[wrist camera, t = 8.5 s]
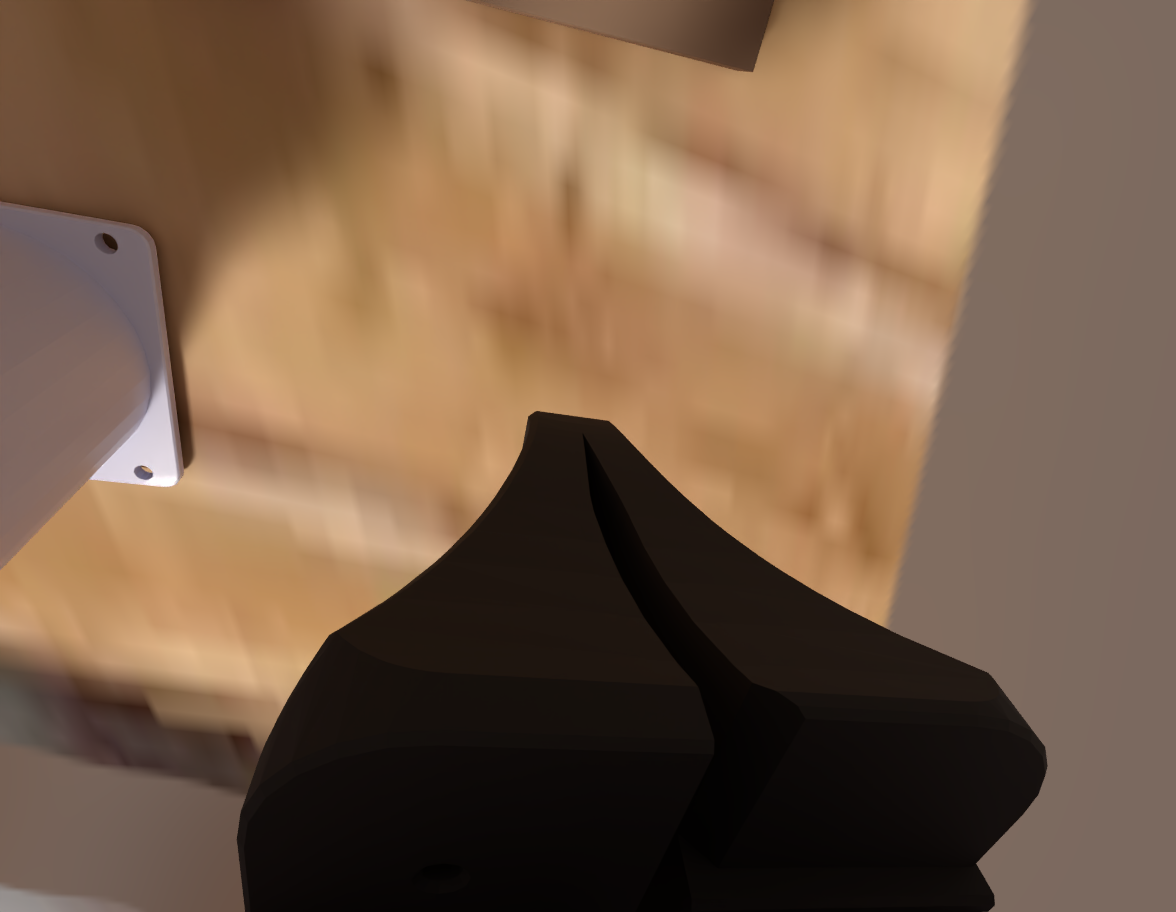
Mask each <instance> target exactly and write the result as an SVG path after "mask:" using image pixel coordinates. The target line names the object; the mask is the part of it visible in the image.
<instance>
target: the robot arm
mask: <svg viewBox="0 0 1176 912" xmlns="http://www.w3.org/2000/svg"><path fill="white" fill-rule="evenodd" d="M103 233H106V234H109V235H111V236H112V237H113V238H114V239H115V240H116V242H117V244H118V249H117V250H114V249H111V248H109V247H108V246H107V245H106V244H105V242H104V240H103ZM141 466H146V467H148V468H149V469H151V470H152V472H153V473H149V472H146V471H145V470H143V469H142V468H141ZM183 474H184V466H183V458H182V450H181V442H180V434H179V426H178V418H177V410H176V402H175V394H174V386H173V378H172V370H171V362H170V354H169V346H168V338H167V330H166V322H165V314H164V306H163V298H162V290H161V282H160V274H159V266H158V258H157V250H156V246H155V243H154V240H153V238H152V237H151V236H150V234H149V233H148V232H147V231H145V230H144V229H142V228H141V227H139V226H136V225H133V224H128V223H122V222H116V221H111V220H105V219H99V218H93V217H88V216H82V215H76V214H70V213H65V212H59V211H53V210H47V209H42V208H36V207H30V206H24V205H19V204H13V203H7V202H1V201H0V570H1V569H2V568H3V567H4V566H5V565H6V564H7V563H8V562H9V561H10V560H11V559H12V558H13V557H14V556H15V555H16V554H17V553H18V552H19V550H20V549H21V548H22V547H23V546H24V545H25V544H26V543H27V542H28V541H29V540H30V539H31V538H32V537H33V536H34V535H35V534H36V533H37V532H38V531H39V530H40V529H41V528H42V527H43V526H44V525H45V524H46V523H47V522H48V521H49V520H50V519H51V518H52V517H53V516H54V515H55V514H56V513H57V512H58V510H59V509H60V508H61V507H62V506H63V505H64V504H65V503H66V502H67V501H68V500H69V499H70V498H71V497H72V496H73V495H74V494H75V493H76V492H77V491H78V490H79V489H80V488H81V487H82V486H83V485H84V484H85V483H86V482H87V481H88V480H89V479H91V480H100V481H110V482H120V483H130V484H140V485H149V486H159V487H171V486H174V485H176V484H177V483H178V482H179V480H180V479H181V478H182V476H183ZM1046 770H1047V759H1046V750H1045V746H1044V745H1043V744H1042V742H1041V741H1040V740H1039V738H1038V737H1037V736H1036V734H1035V733H1034V732H1033V731H1032V729H1031V728H1030V726H1029V725H1028V724H1027V722H1026V721H1025V720H1024V719H1023V717H1022V716H1021V714H1020V713H1019V712H1018V711H1017V709H1016V708H1015V706H1014V705H1013V704H1012V703H1011V701H1010V700H1009V699H1008V697H1007V696H1006V695H1005V693H1004V692H1003V691H1002V689H1001V688H1000V687H999V685H998V684H997V683H996V681H995V680H994V679H993V678H992V676H991V675H989V673H987V672H985V671H982V670H980V669H978V668H975V667H973V666H971V665H968V664H966V663H964V662H961V661H959V660H956V659H954V658H952V657H949V656H947V655H945V654H942V653H940V652H938V651H936V650H933V649H931V648H929V647H926V646H924V645H921V644H919V643H917V642H914V641H912V640H910V639H907V638H905V637H903V636H900V635H898V634H896V633H894V632H892V631H890V630H888V629H886V628H884V627H882V626H880V625H878V624H876V623H874V622H872V621H870V620H868V619H866V618H864V617H862V616H860V615H858V614H856V613H854V612H852V611H850V610H848V609H846V608H844V607H843V606H841V605H839V604H837V603H835V602H834V601H832V600H830V599H828V598H826V597H824V596H823V595H821V594H819V593H817V592H816V591H814V590H812V589H811V588H809V587H807V586H806V585H804V584H802V583H801V582H799V581H797V580H796V579H794V578H793V577H791V576H789V575H788V574H786V573H784V572H783V571H781V570H779V569H778V568H776V567H775V566H773V565H772V564H770V563H769V562H767V561H766V560H764V559H763V558H761V557H760V556H758V555H757V554H756V553H754V552H753V551H751V550H750V549H749V548H747V547H746V546H745V545H743V544H742V543H741V542H739V541H738V540H736V539H735V538H734V537H732V536H731V535H730V534H728V533H727V532H726V531H724V530H723V529H722V528H721V527H719V526H718V525H717V524H716V523H714V522H713V521H712V520H711V519H710V518H708V517H707V516H706V515H705V514H704V513H703V512H702V511H700V510H699V509H698V508H697V507H696V506H695V505H694V504H692V503H691V502H690V501H689V500H688V499H687V498H686V497H684V496H683V495H682V494H681V493H680V492H679V491H678V490H677V489H676V488H675V487H674V486H673V485H672V484H671V483H670V482H669V481H668V480H667V479H666V478H665V477H664V476H663V475H662V474H661V473H660V472H659V471H658V470H657V469H656V468H655V467H654V466H653V465H652V464H651V463H650V462H649V461H648V460H647V459H646V458H645V457H644V456H643V455H642V454H641V453H640V452H639V451H638V450H637V449H636V448H635V447H634V446H633V445H632V443H631V442H630V441H629V440H628V439H627V438H626V437H625V436H624V435H623V434H622V433H621V432H620V431H619V430H618V429H617V428H616V427H615V426H614V425H613V424H612V423H610V422H609V421H605V420H598V419H591V418H583V417H576V416H569V415H562V414H554V413H547V412H540V411H536V412H534V413H533V414H531V415H530V416H528V421H527V426H526V432H525V437H524V443H523V448H522V451H521V453H520V455H519V457H518V459H517V461H516V463H515V465H514V467H513V469H512V471H511V473H510V474H509V476H508V477H507V479H506V481H505V482H504V484H503V485H502V487H501V488H500V490H499V492H498V493H497V495H496V496H495V498H494V499H493V500H492V502H491V503H490V504H489V506H488V507H487V508H486V510H485V511H484V512H483V513H482V515H481V516H480V517H479V518H478V519H477V520H476V522H475V523H474V524H473V525H472V526H471V527H470V529H469V530H468V531H467V532H466V533H465V534H464V535H463V536H462V537H461V538H460V539H459V540H458V541H457V542H456V543H455V544H454V545H453V546H452V547H451V548H450V549H449V550H448V551H447V552H446V553H445V554H444V555H443V556H442V557H441V558H439V559H438V560H437V561H436V562H435V563H434V564H433V565H431V566H430V567H429V568H427V569H426V570H425V571H424V572H422V573H421V574H420V575H419V576H417V577H416V578H415V579H414V580H412V581H411V582H410V583H408V584H407V585H406V586H405V587H403V588H402V589H401V590H400V591H398V592H397V593H396V594H394V595H393V596H391V597H390V598H388V599H387V600H386V601H384V602H383V603H381V604H379V605H378V606H376V607H374V608H373V609H371V610H370V611H368V612H366V613H365V614H363V615H362V616H360V617H358V618H357V619H355V620H354V621H352V622H350V623H349V624H347V625H346V626H344V627H342V628H341V629H339V630H337V631H335V632H334V633H332V634H330V635H329V636H328V638H327V639H326V640H325V642H324V643H323V645H322V646H321V648H320V649H319V651H318V652H317V654H316V655H315V657H314V658H313V660H312V661H311V663H310V664H309V666H308V667H307V669H306V670H305V672H304V674H303V675H302V677H301V678H300V680H299V682H298V683H297V685H296V687H295V688H294V690H293V692H292V693H291V695H290V697H289V698H288V700H287V702H286V704H285V706H284V708H283V709H282V711H281V713H280V715H279V717H278V719H277V721H276V723H275V725H274V727H273V729H272V731H271V733H270V735H269V737H268V739H267V741H266V743H265V746H264V748H263V751H262V753H261V756H260V758H259V761H258V764H257V767H256V770H255V773H254V776H253V778H252V781H251V784H250V787H249V790H248V793H247V796H246V799H245V802H244V804H243V807H242V810H241V814H240V822H239V828H238V835H237V844H238V853H239V861H240V870H241V879H242V887H243V896H244V905H245V912H988V911H989V910H990V909H991V908H992V907H993V906H994V905H995V902H994V894H993V892H992V890H991V889H990V887H989V885H988V884H987V882H986V880H985V878H984V876H983V875H982V873H981V871H980V870H979V868H978V866H977V864H976V863H977V862H978V861H979V860H980V858H981V857H982V856H983V855H984V854H985V853H986V852H987V851H988V850H989V849H990V848H991V847H992V846H993V845H994V844H995V843H996V842H997V841H998V840H999V839H1000V838H1001V837H1002V836H1003V835H1004V834H1005V832H1007V831H1008V829H1009V828H1010V827H1011V826H1012V825H1013V824H1014V823H1015V822H1016V821H1017V820H1018V819H1019V818H1020V817H1021V816H1022V815H1023V814H1024V812H1025V811H1026V810H1027V809H1028V807H1029V806H1030V805H1031V803H1032V802H1033V801H1034V799H1035V798H1036V797H1037V796H1038V794H1039V791H1040V788H1041V785H1042V782H1043V780H1044V777H1045V774H1046Z"/></svg>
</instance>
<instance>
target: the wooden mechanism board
mask: <svg viewBox="0 0 1176 912" xmlns="http://www.w3.org/2000/svg"><path fill="white" fill-rule="evenodd" d="M467 1H471V2H475V3H479V4H483V5H487V6H490V7H494V8H498V9H502V10H506V11H510V12H513V13H517V14H521V15H525V16H529V17H533V18H537V19H540V20H544V21H548V22H552V23H556V24H560V25H564V26H567V27H571V28H575V29H579V30H583V31H587V32H591V33H594V34H598V35H602V36H606V37H610V38H614V39H617V40H621V41H625V42H629V43H633V44H637V45H641V46H644V47H648V48H652V49H656V50H660V51H664V52H668V53H671V54H675V55H679V56H683V57H687V58H691V59H695V60H698V61H702V62H706V63H710V64H714V65H718V66H721V67H725V68H729V69H733V70H737V71H747V72H753V70H754V67H755V63H756V60H757V57H758V53H759V50H760V46H761V43H762V40H763V36H764V33H765V29H766V26H767V23H768V19H769V16H770V12H771V9H772V6H773V2H774V0H467Z"/></svg>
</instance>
